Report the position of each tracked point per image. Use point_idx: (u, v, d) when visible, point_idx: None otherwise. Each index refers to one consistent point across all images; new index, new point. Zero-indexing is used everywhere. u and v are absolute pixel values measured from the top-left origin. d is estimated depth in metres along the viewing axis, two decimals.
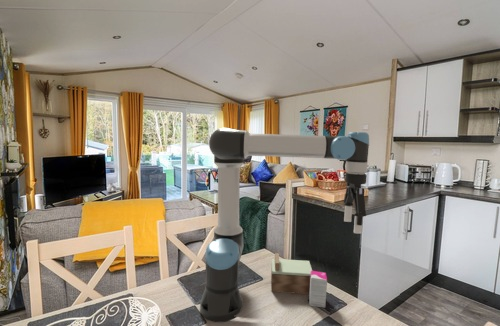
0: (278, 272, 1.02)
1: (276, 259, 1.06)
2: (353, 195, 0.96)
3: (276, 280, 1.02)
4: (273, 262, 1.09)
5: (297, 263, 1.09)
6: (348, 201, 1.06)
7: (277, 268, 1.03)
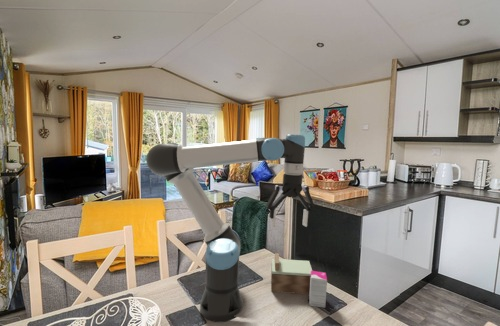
0: (278, 272, 1.02)
1: (276, 259, 1.06)
2: (282, 193, 1.04)
3: (276, 280, 1.02)
4: (273, 262, 1.09)
5: (297, 263, 1.09)
6: (303, 204, 1.05)
7: (277, 268, 1.03)
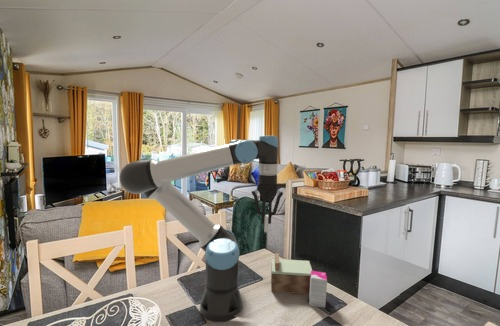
0: (278, 272, 1.02)
1: (276, 259, 1.06)
2: None
3: (276, 280, 1.02)
4: (273, 262, 1.09)
5: (297, 263, 1.09)
6: None
7: (277, 268, 1.03)
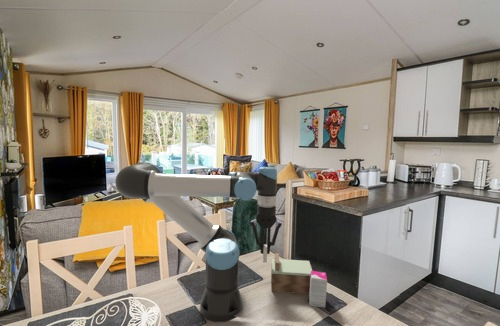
0: (278, 272, 1.02)
1: (276, 259, 1.06)
2: None
3: (276, 280, 1.02)
4: (273, 262, 1.09)
5: (297, 263, 1.09)
6: None
7: (277, 268, 1.03)
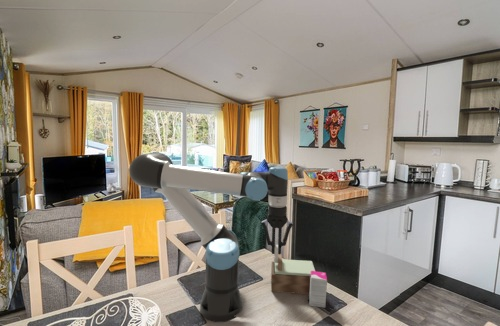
0: (281, 272, 1.02)
1: (279, 259, 1.06)
2: None
3: (276, 280, 1.02)
4: None
5: (300, 263, 1.09)
6: None
7: (280, 268, 1.02)
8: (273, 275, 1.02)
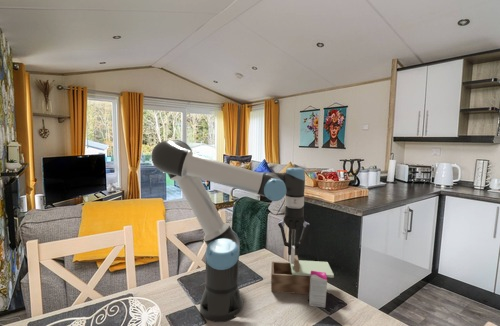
0: (298, 273, 1.01)
1: (295, 260, 1.05)
2: None
3: (276, 280, 1.02)
4: None
5: (316, 264, 1.08)
6: None
7: (297, 269, 1.02)
8: (273, 275, 1.02)
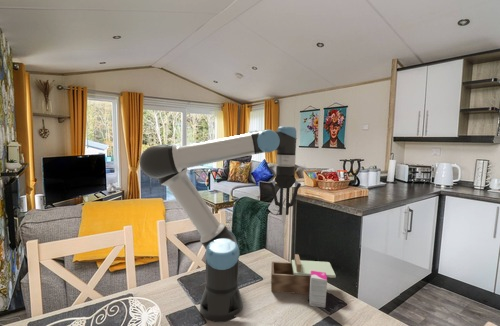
0: (300, 273, 1.01)
1: (297, 260, 1.05)
2: None
3: (276, 280, 1.02)
4: (293, 263, 1.09)
5: (318, 264, 1.08)
6: None
7: (299, 269, 1.02)
8: (273, 275, 1.02)
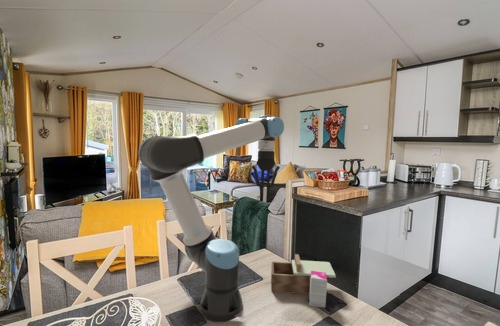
0: (300, 273, 1.01)
1: (297, 260, 1.05)
2: None
3: (276, 280, 1.02)
4: (293, 263, 1.09)
5: (318, 264, 1.08)
6: None
7: (299, 269, 1.02)
8: (273, 275, 1.02)
